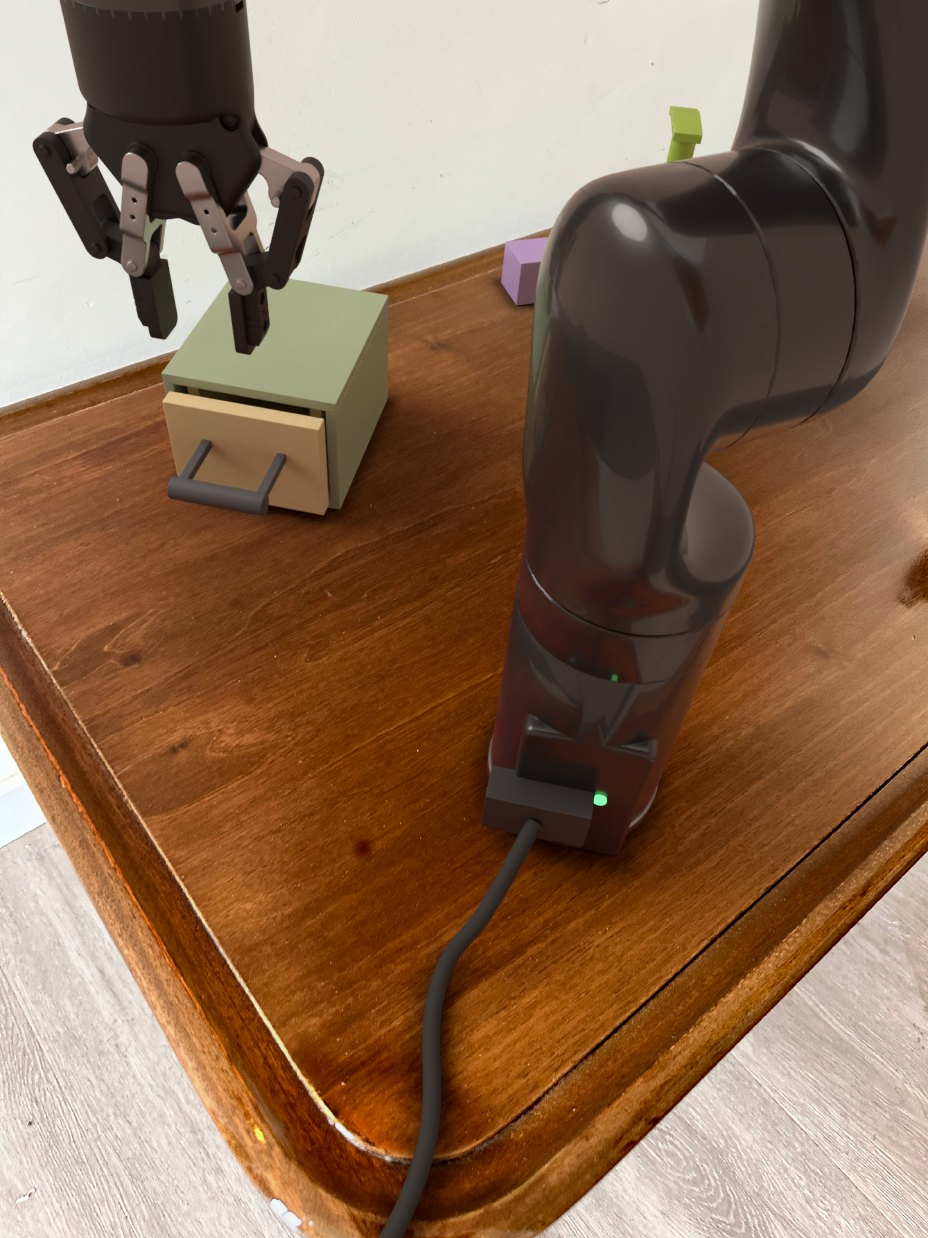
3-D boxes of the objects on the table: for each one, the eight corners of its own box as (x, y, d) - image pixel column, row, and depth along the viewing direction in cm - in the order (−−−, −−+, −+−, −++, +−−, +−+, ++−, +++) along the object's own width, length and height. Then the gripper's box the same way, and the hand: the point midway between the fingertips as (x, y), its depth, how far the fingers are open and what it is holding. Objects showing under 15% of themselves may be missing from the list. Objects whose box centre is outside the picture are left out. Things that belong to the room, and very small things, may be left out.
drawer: (299, 570, 60) (291, 484, 55) (147, 541, 61) (125, 453, 56) (371, 408, 72) (371, 323, 67) (243, 385, 73) (232, 300, 67)
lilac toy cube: (557, 300, 86) (563, 258, 83) (516, 305, 85) (521, 263, 82) (541, 277, 88) (546, 236, 85) (500, 282, 87) (505, 241, 84)
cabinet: (340, 510, 66) (335, 404, 59) (183, 480, 67) (161, 373, 60) (388, 398, 74) (388, 294, 68) (248, 373, 75) (235, 269, 69)
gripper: (-64, -26, 37) (51, 354, 50) (288, 26, 36) (312, 401, 49) (31, -74, 42) (113, 283, 55) (344, -30, 41) (352, 324, 54)
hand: (207, 337), depth 52 cm, fingers open, 4 cm apart
